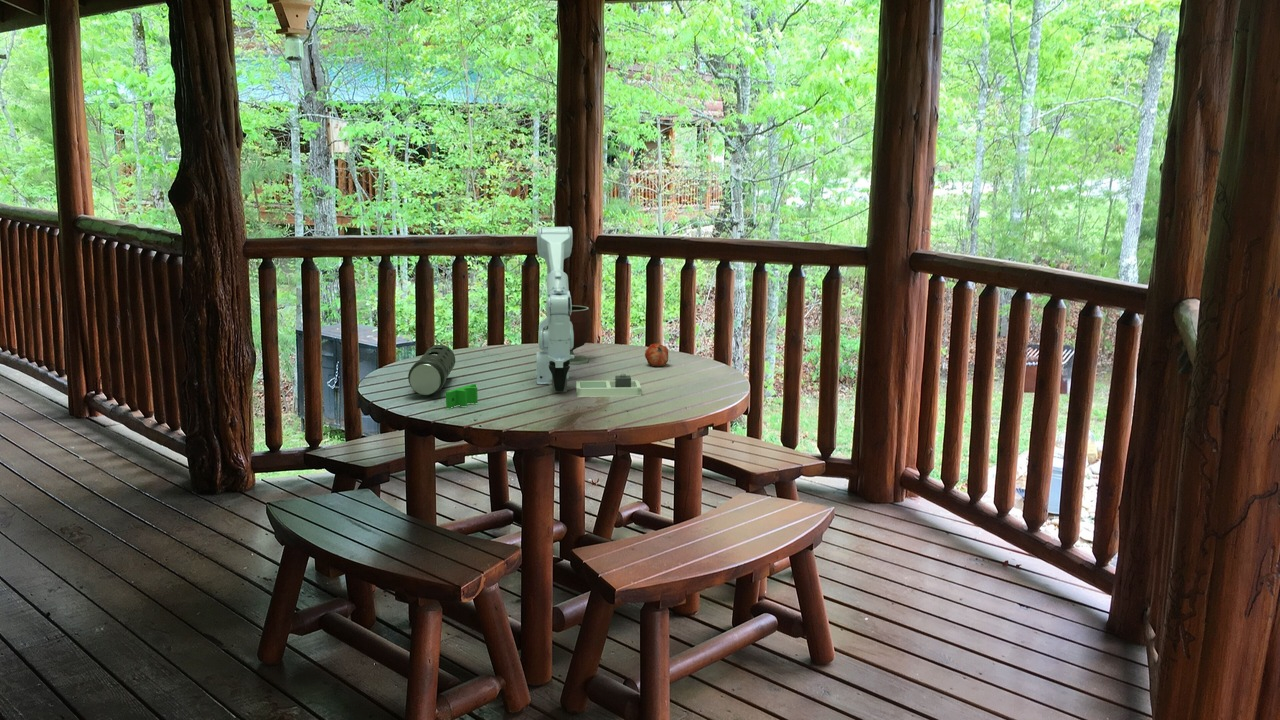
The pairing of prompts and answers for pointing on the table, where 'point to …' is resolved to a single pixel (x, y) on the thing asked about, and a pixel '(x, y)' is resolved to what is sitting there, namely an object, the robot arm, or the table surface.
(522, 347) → the table surface
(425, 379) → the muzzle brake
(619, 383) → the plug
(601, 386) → the pale green compartment tray
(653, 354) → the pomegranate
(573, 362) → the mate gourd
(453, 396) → the pipe clamp
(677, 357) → the table surface
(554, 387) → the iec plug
